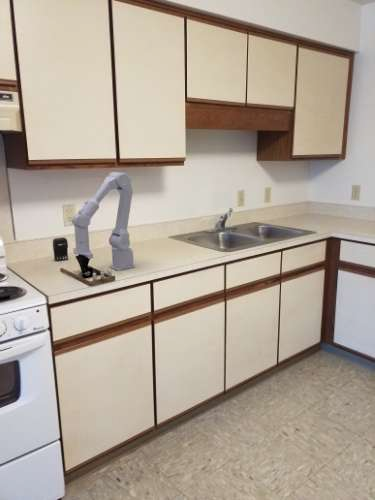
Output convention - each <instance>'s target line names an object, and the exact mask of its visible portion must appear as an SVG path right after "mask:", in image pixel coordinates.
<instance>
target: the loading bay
mask: <svg viewBox="0 0 375 500" xmlns="http://www.w3.org/2000/svg"><path fill="white" fill-rule="evenodd" d="M91 267H92V268H93V277H92V280H88V279H84V278H82V277H80V276H81V275H78V274H76V273H73V272H71V271H69V270H67V269H65V268H63V267H60V268H59V269H60V273H63V274H65V275H66V276H69V277H70V278H72V279H75V280H77V281H79V282H80V283H82V284H85V285H87V286H88V287H95V286H98V285H102V284H105V283H106V284H107V283H110V282H115V281H116V275H113V274H112V269H107V272H105V271H104V270H100V269H97V268H95V267H93V266H91ZM94 272H95V273H94ZM96 273H97V274H99V275H100V278H97V277H98V276H96Z"/></svg>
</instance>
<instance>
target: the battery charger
mask: <svg viewBox="0 0 375 500" xmlns="http://www.w3.org/2000/svg"><path fill="white" fill-rule="evenodd" d="M68 248H69V244H68V238H66V237H64V236H63V237H56V238H53V239H52V251H53V260H54V261H56V262H61V261H67V260H68V259H69V256H68V253H69V252H68Z"/></svg>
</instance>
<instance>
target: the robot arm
mask: <svg viewBox="0 0 375 500" xmlns="http://www.w3.org/2000/svg"><path fill="white" fill-rule="evenodd" d="M131 182H132V178H131V177H130V176H129V174H127V173H126V172H116V171H111V172H109V174H108V175H107V176H106V177H105V178H104V181H103V183H102V184H101V186H100V187H99V188H98V190H97V191H96V193H95V194H94V196H93V197H92V198H89V199H88V200H84V205H83V206H82V207H81V209H79V210H78V211H77V213H75V214H74V215H73V217H72V219H71V223H72V225H73V227H74V238H75V239H74V242H75V247H74V248H72V249H73V254H74V255H75V259H76V261H77V262H78V265H79V268H80V270H81V269H82V267H86V266H89V263H90V260H91V259H93V258H94V253H92V252H91V250H90V237H89V235H90V233H89V226H90V224H91V219H92V218H93V216H94V215H95V213H96V212H97V211H98V210H99V209H100V203H101V202H102V201H103V199H104V198H105V197H106V196H107V195H108V194H109V193H110V191H111V190H116V191H117V192H118V193H119V201H118V206H117V207H118V208H117V215H116V221H115V227H114V228H113V229H112V231H111V233H110V234H111V235H110V236H109V238H108V243H109V245H110V246H111V257H112V258H111V259H112V262H111V263H112V265H109V266H108V268H109V269H110V268H111V269H113V270H116V271H122V270H126V269H131V268H135V265H134V264H135V263H134V261H135V260H134V251H133V249H132V248H130V244H131V241H130V233H129V231H128V225H129V218H130V213H131V212H130V211H131V205H132V199H133V194H134V191H133V187H132V184H131Z"/></svg>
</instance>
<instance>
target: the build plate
mask: <svg viewBox="0 0 375 500" xmlns="http://www.w3.org/2000/svg"><path fill="white" fill-rule="evenodd" d="M92 267H93V266H92V265H88V266H86V267H82V269H81V268H80V270H81V275H79V276H80V277H82V278H84V279H86V280H88V279H91V278H93V273H95V272H93V268H94V267H93V268H92ZM99 276H100V277H101V275H99V274H97V273H96V277H99Z"/></svg>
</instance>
